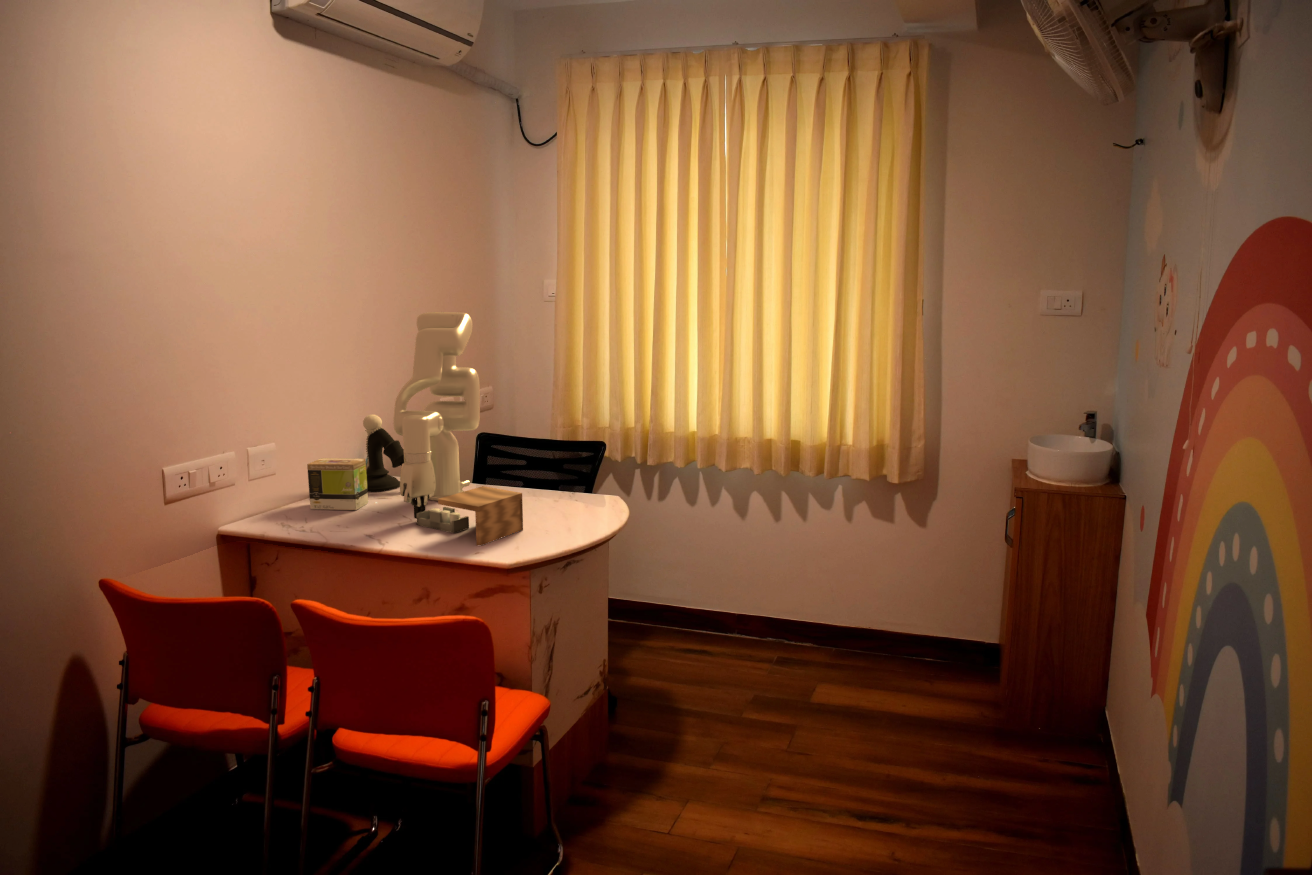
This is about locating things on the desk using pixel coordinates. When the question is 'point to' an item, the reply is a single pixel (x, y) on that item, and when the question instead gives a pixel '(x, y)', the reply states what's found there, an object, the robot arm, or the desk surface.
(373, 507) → the desk surface
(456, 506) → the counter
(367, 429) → the sculpture
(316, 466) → the tea box
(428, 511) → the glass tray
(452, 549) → the desk surface
